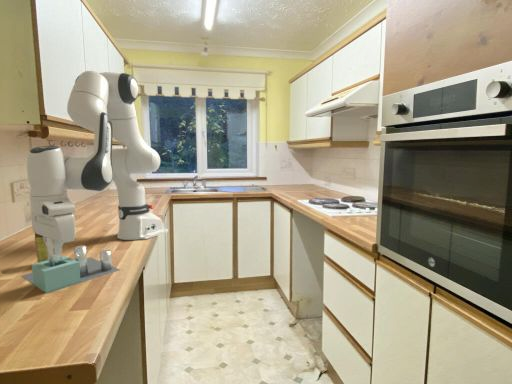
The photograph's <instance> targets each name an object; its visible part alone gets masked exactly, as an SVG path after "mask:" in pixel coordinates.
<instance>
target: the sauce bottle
mask: <svg viewBox="0 0 512 384" xmlns="http://www.w3.org/2000/svg"><path fill="white" fill-rule="evenodd" d="M34 240H35V241H34V243H35V249H36V258H37V263H39V262H43V261H47V260H49V259H48V251H47V249H46V244H45V242H44V239H43V236H41V235H39V234H36V233H34Z"/></svg>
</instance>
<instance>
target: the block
mask: <svg viewBox="0 0 512 384" xmlns="http://www.w3.org/2000/svg"><path fill="white" fill-rule="evenodd" d="M31 271H32V272H31V273H32V274H33V283H34V285H33V286H35V287H36V286H37V287H36V288H37V289H39V290H40V291H42V292H44V293H45V294H49V293H48V292H50V293H52V292H51V291H54V290H57V289H60V288H63V287H66V286H69V287H71V286H70V285H72V286H74V285H73V284H75V285H77V284H76V283H78V284H80V283H79V282H81V278H80V266H79V262H78V261H76V260H75V259H73V258H71V257H69V256H67V255H64V256H62V264H61V265H57V266H53V267H49V260H47V261H43V262H39V263H38V262H36V263H32V264H31ZM66 288H67V287H66ZM63 289H64V288H63ZM60 290H61V289H60ZM57 291H58V290H57ZM54 292H55V291H54Z"/></svg>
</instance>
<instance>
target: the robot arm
mask: <svg viewBox="0 0 512 384" xmlns="http://www.w3.org/2000/svg"><path fill="white" fill-rule="evenodd" d="M138 97H139V85H138V82H137V80H136V78H135V77H134V76H133V75H132V74H129V73H126V72H125V73H124V72H122V73H119V72H109V71H104V72H97V71H95V70H86V71H83V72H82V73H80V74H79V75H78V76H77V77H76V79H75V82H74V85H73V87H72V89H71V92H70V95H69V97H68V101H67V106H66V108H67V109H66V111H67V114H68V116H69V118H70V119H71V120H72V121H73V123H75V124H76V125H78V126H79V127H81V128H83V129H86V130H87V131H91V132H93V133H94V136H93V137H94V138H93V153H92V154H91V155H90V156H87V157H73V156H72V157H71V156H68V155H66V154H65V153H64V152H63V150H62V148H61V147H59V146H57V145H44V146H43V145H41V146H36V147H33V148H30V150H29V151H28V152H27V156H26V157H27V158H26V172H27V180H28V183H29V185H30V191H29V202H30V203H29V204H30V210H31V223H32V224H31V225H32V226H31V227H32V231H33V233H34V234H35V233H36V234H39V235H41V236H43V239H44V242H45V244H46V249H47V239H46V238H49V239H51V240H53V243H54V248H53V254H55V255H60V254H61V255H62V254H63V245H64V244H66V243H69V242H73V241H75V237H76V222H75V221H76V219H75V215H74V214H73V213H75V212H76V205H75V204H74V203H73V202H72V201H71V200H70V198H69V197H68V191H67V190H83V191H84V190H86V191H95V192H101V191H104V190H105V189H107V188H108V187H109V185H110V184H111V183H112V182H114V183H113V184H115V187H116V190H117V196H118V206H117V208H118V209H117V210H118V212H117V213H118V218H119V224H118V232H117V237H116V238H117V239H119V240H124V241H132V240H148V239H151V238H154V237H157V236H160V235H162V234H166V233H169V228H167V227H164V223H163V220H162V218H161V217H159V216H157V215H155V214H154V213H153V212H152V211H150V210H153V209H154V208H155V206H154V204H151V203H149V204H147V202H146V201H147V200H146V189H145V187H144V185H143V184H141V183H140V182H138V181H135V180H134V179H133V177H132V174H133V175H134V174H135V175H136V174H139V175H140V174H143V175H144V174H151V173H155V172H156V171H158V169H159V168H160V166H161V157H160V154H159V153H158V152H157V150H155V149H154V148H152V147H151V146H149V144H147V142H146V141H145V140H144V138H143V136H142V134H141V132H140V128H139V123H138V116H137V111H136V106H135V102H136V100H137V98H138ZM113 139H114V140H115V141H117V142H119V143H121V144H123V145H124V146H125V147H126V148H113ZM47 251H48V249H47Z"/></svg>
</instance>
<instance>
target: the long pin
mask: <svg viewBox="0 0 512 384" xmlns="http://www.w3.org/2000/svg"><path fill="white" fill-rule="evenodd" d="M46 239H47V249H48V259H49V267H53V266H57V265H61V264H62V257H63V256H62V254H60V255H55V254H53V248H54V243H53V240H51V239H49V238H46Z"/></svg>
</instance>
